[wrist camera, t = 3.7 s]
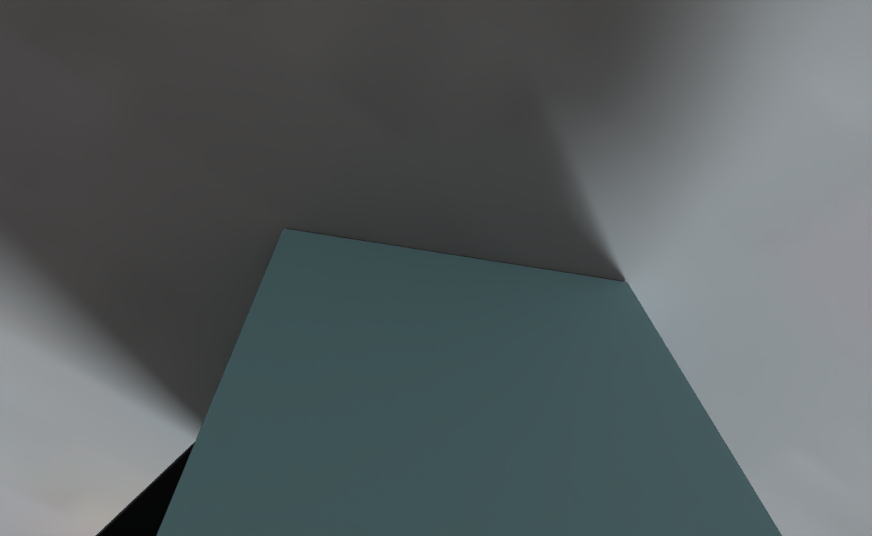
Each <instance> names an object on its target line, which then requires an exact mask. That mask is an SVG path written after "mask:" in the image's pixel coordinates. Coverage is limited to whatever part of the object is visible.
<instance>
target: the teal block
mask: <svg viewBox="0 0 872 536" xmlns="http://www.w3.org/2000/svg"><path fill="white" fill-rule="evenodd" d="M157 536H782V535H781V533H780V532H779V530H778V528H777V527H776V525H775V524H774V522H773V520H772V519H771V517H770V515H769V514H768V512H767V510H766V509H765V507H764V505H763V504H762V502H761V501H760V499H759V497H758V496H757V494H756V492H755V491H754V489H753V487H752V486H751V484H750V483H749V481H748V479H747V478H746V476H745V474H744V473H743V471H742V469H741V468H740V466H739V465H738V463H737V461H736V460H735V458H734V456H733V455H732V453H731V451H730V450H729V448H728V446H727V445H726V443H725V442H724V440H723V438H722V437H721V435H720V433H719V432H718V430H717V428H716V427H715V425H714V424H713V422H712V420H711V419H710V417H709V415H708V414H707V412H706V410H705V409H704V407H703V406H702V404H701V402H700V401H699V399H698V397H697V396H696V394H695V392H694V391H693V389H692V388H691V386H690V384H689V383H688V381H687V379H686V378H685V376H684V374H683V373H682V371H681V369H680V368H679V366H678V365H677V363H676V361H675V360H674V358H673V356H672V355H671V353H670V351H669V350H668V348H667V347H666V345H665V343H664V342H663V340H662V338H661V337H660V335H659V333H658V332H657V330H656V329H655V327H654V325H653V324H652V322H651V320H650V319H649V317H648V315H647V314H646V312H645V311H644V309H643V307H642V306H641V304H640V302H639V301H638V299H637V297H636V296H635V294H634V292H633V291H632V289H631V288H630V286H629V284H628V283H627V282H622V281H616V280H609V279H603V278H596V277H590V276H584V275H577V274H571V273H565V272H558V271H552V270H545V269H539V268H533V267H526V266H520V265H514V264H507V263H501V262H494V261H488V260H482V259H475V258H469V257H463V256H456V255H450V254H443V253H437V252H431V251H424V250H418V249H411V248H405V247H399V246H392V245H386V244H380V243H373V242H367V241H360V240H354V239H348V238H341V237H335V236H329V235H322V234H316V233H309V232H303V231H297V230H290V229H284V228H283V231H282V233H281V235H280V238H279V240H278V243H277V245H276V248H275V250H274V252H273V255H272V257H271V260H270V262H269V265H268V267H267V269H266V272H265V274H264V277H263V279H262V281H261V284H260V286H259V289H258V291H257V294H256V296H255V298H254V301H253V303H252V306H251V308H250V311H249V313H248V315H247V318H246V320H245V323H244V325H243V328H242V330H241V332H240V335H239V337H238V340H237V342H236V344H235V347H234V349H233V352H232V354H231V357H230V359H229V361H228V364H227V366H226V369H225V371H224V374H223V376H222V378H221V381H220V383H219V386H218V388H217V390H216V393H215V395H214V398H213V400H212V403H211V405H210V407H209V410H208V412H207V415H206V417H205V420H204V422H203V424H202V427H201V429H200V432H199V434H198V437H197V439H196V441H195V444H194V446H193V449H192V451H191V453H190V456H189V458H188V461H187V463H186V466H185V468H184V470H183V473H182V475H181V478H180V480H179V483H178V485H177V487H176V490H175V492H174V495H173V497H172V499H171V502H170V504H169V507H168V509H167V512H166V514H165V516H164V519H163V521H162V524H161V526H160V529H159V531H158V533H157Z"/></svg>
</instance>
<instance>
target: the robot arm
mask: <svg viewBox="0 0 872 536" xmlns="http://www.w3.org/2000/svg"><path fill="white" fill-rule="evenodd" d="M194 444H195V442H194V443H193V444H192V445H191V446H190V447H189V448H188V449H187V450H186V451H185V452H184V453H183V454H182V455H181V456H180V457H178V458H177V459H176V460H175V461H174V462H173V463H172V464H171V465H170V466H169V467H168V468H167V469H166V470H165V471H164V472H163V473H162V474H160V475H159V476H158V477H157V478H156V479H155V480H154V481H153V482H152V483H151V484H150V485H149V486H148V487H147V488H146V489H145V490H144V491H142V492H141V493H140V494H139V495H138V496H137V497H136V498H135V499H134V500H133V501H132V502H131V503H130V504H129V505H128V506H127V507H126V508H124V509H123V510H122V511H121V512H120V513H119V514H118V515H117V516H116V517H115V518H114V519H113V520H112V521H111V522H110V523H109V524H108V525H106V526H105V527H104V528H103V529H102V530H101V531H100V532H99V533H98V534H97V535H96V536H157V533H158V531H159V529H160V526H161V524H162V521H163V519H164V516H165V514H166V512H167V509H168V507H169V504H170V502H171V499H172V497H173V495H174V492H175V490H176V487H177V485H178V483H179V480H180V478H181V475H182V473H183V470H184V468H185V466H186V463H187V461H188V458H189V456H190V453H191V451H192V449H193V446H194Z"/></svg>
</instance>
